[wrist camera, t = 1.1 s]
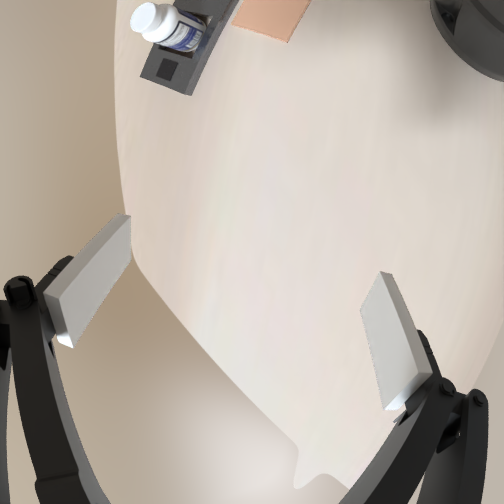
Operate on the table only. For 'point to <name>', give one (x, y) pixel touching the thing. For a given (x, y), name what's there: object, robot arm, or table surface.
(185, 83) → the holder
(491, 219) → the table surface
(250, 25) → the coaster
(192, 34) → the pill bottle
